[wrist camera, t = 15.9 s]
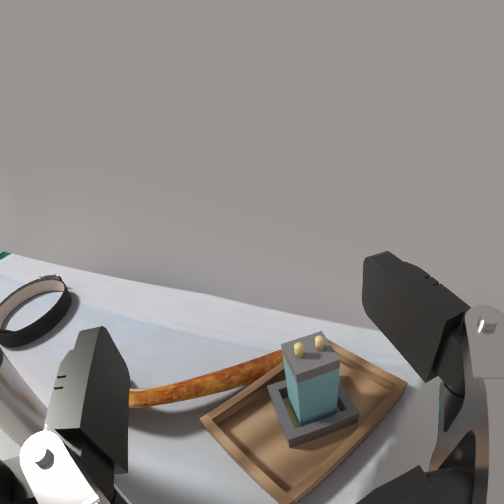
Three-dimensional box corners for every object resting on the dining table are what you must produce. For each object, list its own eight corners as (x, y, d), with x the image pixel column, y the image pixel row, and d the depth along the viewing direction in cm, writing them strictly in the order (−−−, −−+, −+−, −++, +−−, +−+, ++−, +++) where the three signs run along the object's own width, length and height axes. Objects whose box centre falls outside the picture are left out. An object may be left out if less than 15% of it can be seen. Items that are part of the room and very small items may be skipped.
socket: (289, 448, 33) (288, 439, 32) (269, 395, 41) (266, 385, 40) (357, 422, 34) (359, 412, 33) (329, 375, 42) (329, 364, 41)
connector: (300, 429, 35) (295, 365, 29) (289, 402, 39) (279, 334, 33) (336, 416, 36) (340, 349, 30) (322, 390, 40) (321, 321, 34)
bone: (284, 351, 50) (287, 330, 42) (295, 398, 45) (301, 386, 37) (103, 373, 48) (75, 356, 40) (105, 416, 44) (74, 407, 35)
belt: (88, 281, 84) (81, 267, 81) (45, 348, 57) (35, 332, 55) (25, 291, 84) (19, 279, 82) (-18, 347, 58) (-27, 333, 56)
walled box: (204, 427, 38) (199, 418, 37) (318, 344, 49) (317, 333, 48) (287, 510, 25) (285, 505, 24) (403, 392, 37) (407, 382, 36)
